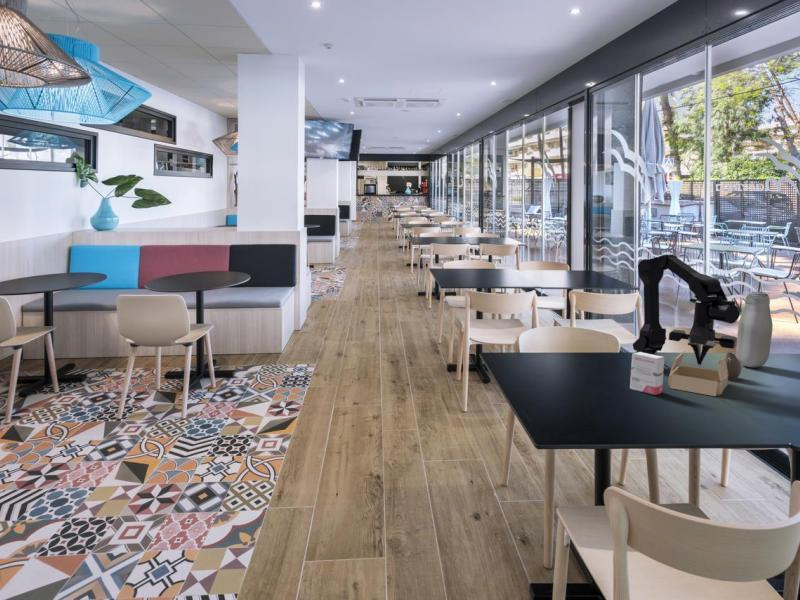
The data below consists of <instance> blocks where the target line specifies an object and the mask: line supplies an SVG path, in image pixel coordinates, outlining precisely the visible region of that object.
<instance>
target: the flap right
mask: <svg viewBox="0 0 800 600" xmlns="http://www.w3.org/2000/svg"><path fill="white" fill-rule="evenodd" d="M719 361H720V362H719ZM719 361H718V363H717V364H716V368H717V369H716V370H718V373H719V378H720V381H722V380H723V378H724V377H725V376H726V374H727V373H728V369H727V365H726V360H725V357H724V356H723V357H722V358H721V359H720V360H719Z"/></svg>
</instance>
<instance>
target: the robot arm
mask: <svg viewBox="0 0 800 600" xmlns="http://www.w3.org/2000/svg"><path fill="white" fill-rule="evenodd" d="M666 270H669V271H670V272H671V273H673V274H674V275H676V277H678V278H680V279H681V280H683V281H684V282H685V283H686V284H687V286H688V289H689V290H690V292H692V293H693V294H694V296H693V297H691V298H690V299H689V302H692V303H694V313H693V323H692V326H691V328H690V331H689V333H686V330H682V329H681V330H680V329H673V330H672V331H670V332H669V333H668V340H669V341H674V342H680V341H681V340H688V342H687V345H688V346H689V347H690V346H691V348H692V350H693V352H694V356H695V359H696V362H697V365H700V366H701V365H702V363H703V361H704V359H705V357H706V355H707V354H708V352H709V350H710V349H713V348H715V347H716V344H717V345H718V344H719V346H720V347H721V348H725V349H735V347H737V337H736V336H729V335H722V336H721V337H716V330H715V329H714V325H715V323H714V322H715V321H717V322H722V323H727V324H734V323H736V322H738V321H739V319H740V316H741V313H740V309H739V307H738V306H737V305H736V301H735V300H728V298H727V295H726V294H725V292H724V290H723V287H722V285H721V283H722V282H720V280H719V279H717V278H715V277H713V276H710V275H707V274H704V273H701V272H699V271H697V270H696V269H694V268H693V267H692V266H690V265H689V264H687V263H686V262H684V261H683V260H682V259H680V258H678V256H677V255H676V254H673V253H672V254H666V253H665V254H662V255H660V256H656V257H652V258H644V259H641V260H640V262H639V263H637V273H638V277H639V278H640V280H641V282H642V284H643V317H644V318H643V320H644V321H643V325H642V326H641V328H640V330H639V336H638V339H636V340H635V341H634V342H633V343H632V348H633V351H636V353H638V352H643V353H648V354H652V355H657V356H659V354H658V352H659V351H660V352H661V351H662V349H663V347H664V345H665V344H666V340H667V335H666V334H667V329H666V327H664V328H663V327H662V325H661V324H660V283H661V281H662V279H663V277H664V274H665V273H664V272H665V271H666ZM701 347H702V348H701Z"/></svg>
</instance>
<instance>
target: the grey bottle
mask: <svg viewBox="0 0 800 600" xmlns="http://www.w3.org/2000/svg"><path fill="white" fill-rule="evenodd" d="M744 300H745V301H744V306H743V310H742V312H741V314H740V316H739V319H738V325H737V333H736V334H737V337H736V339H737V343H736V346H735V347H736V349H735V351H736V352H735V356H736V357H737V359H738V360H739V362H740V364H741V366H744V367H748V368H752V369H753V368H759V367H760V368H761V367H763V366H764V365H765V364H766V363H767V361H768V359H769V357H770V351H771V342H772V336H773V319H772V315H771V307H770V304H771V298H770V296H769V294H768V293H766V292H763V291H751V292H749V293H747V295H746V297H745V299H744Z"/></svg>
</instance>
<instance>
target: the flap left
mask: <svg viewBox="0 0 800 600" xmlns="http://www.w3.org/2000/svg"><path fill="white" fill-rule="evenodd" d="M685 353H686V351H684V350H683V351H681V353H680V354H678V355H677V356H676V357H675V358H674V361H673V363H672V366H671V368H670V373H672V372H673V371H674V370H675V369H676V368H677V367H678V366H681V363H682V361H683V359H684V356H685Z"/></svg>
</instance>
